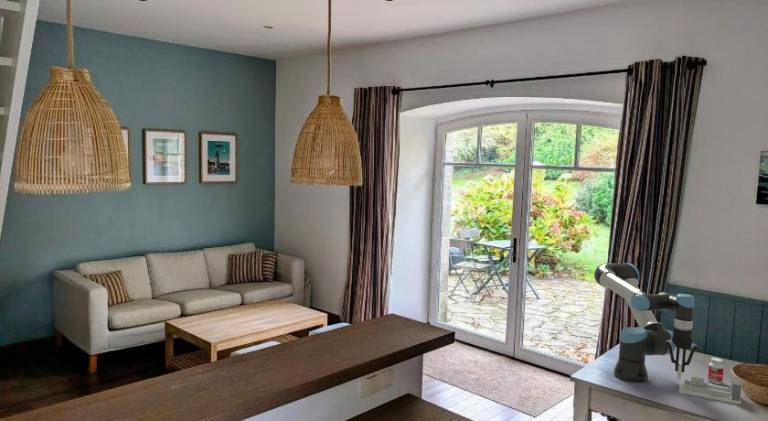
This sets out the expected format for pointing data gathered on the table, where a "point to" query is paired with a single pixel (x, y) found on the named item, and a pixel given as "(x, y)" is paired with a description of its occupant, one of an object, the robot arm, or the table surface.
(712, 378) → the pill bottle
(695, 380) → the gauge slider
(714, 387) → the base
